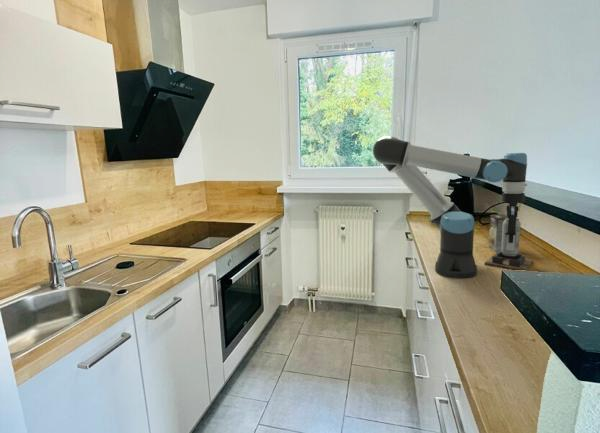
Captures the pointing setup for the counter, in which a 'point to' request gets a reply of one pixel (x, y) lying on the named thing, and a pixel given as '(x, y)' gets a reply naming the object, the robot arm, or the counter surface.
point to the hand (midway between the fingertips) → (509, 247)
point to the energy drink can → (504, 238)
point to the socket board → (509, 261)
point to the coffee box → (496, 231)
